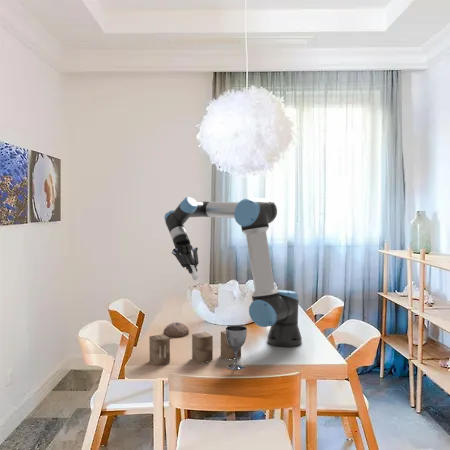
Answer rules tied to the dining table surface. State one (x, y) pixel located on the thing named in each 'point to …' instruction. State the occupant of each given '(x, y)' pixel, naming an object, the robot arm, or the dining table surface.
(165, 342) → the marked block 1
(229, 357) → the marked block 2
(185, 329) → the decorative stone
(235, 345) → the wine glass
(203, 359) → the unmarked block
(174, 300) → the dining table surface
